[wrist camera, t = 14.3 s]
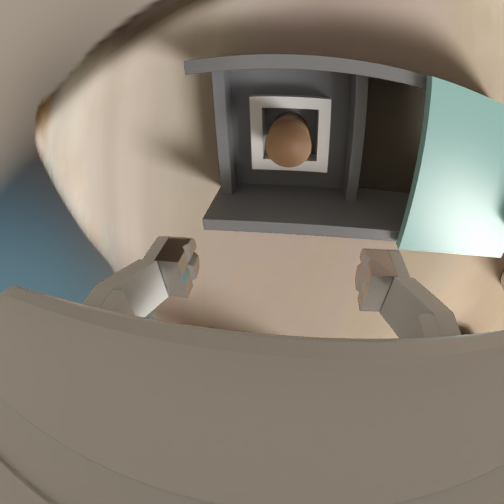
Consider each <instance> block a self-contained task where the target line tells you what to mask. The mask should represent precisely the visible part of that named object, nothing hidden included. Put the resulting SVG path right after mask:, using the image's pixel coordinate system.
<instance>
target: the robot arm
mask: <svg viewBox="0 0 504 504" xmlns="http://www.w3.org/2000/svg"><path fill="white" fill-rule="evenodd" d="M195 249H196V242H195V240H194V239H193V238H185V237H172V236H171V237H170V236H159V237H157V239H156V240H155V242H154V243H153V244H152V246H151V247H150V249H149V250H148V252H147V253H146V255H145V256H144V258H143V259H142V260H140V259H139V260H137V261H136V262H134V263H132V264H130V265H129V266H127V267H125V268H123V269H122V270H120V271H118V272H117V273H115V274H113V275H111V276H110V277H108V278H106V279H105V280H103V281H101V282H100V283H98V284H96V285H95V286H94V287H93V289H92V290H91V292H90V293H89V295H88V296H87V298H86V299H85V301H84V302H83V304H79V303H75V302H71V301H67V300H64V299H60V298H56V297H53V296H49V295H45V294H42V293H39V292H35V291H32V290H28V289H25V288H22V287H19V286H13V287H10V288H9V289H7V290H5V291H4V292H2V293H1V294H0V504H504V330H502V331H495V332H487V333H478V334H468V335H461V332H460V330H459V327H458V324H457V321H456V318H455V316H454V313H453V312H452V311H451V310H450V309H449V308H448V307H447V306H445V305H444V304H443V303H442V302H441V301H440V300H439V299H438V298H436V297H435V296H434V295H433V294H432V293H431V292H430V291H428V290H427V289H426V288H425V287H424V286H423V285H421V284H420V283H419V282H418V281H417V280H416V279H414V278H410V276H409V273H408V270H407V268H406V266H405V263H404V261H403V258H402V256H401V253H400V251H398V250H379V249H362V251H361V254H360V260H361V263H360V264H359V265H358V266H357V270H356V276H355V285H356V290H357V291H358V292H359V295H358V303H359V310H360V311H375V312H380V314H381V315H382V316H383V318H384V319H385V320H386V321H387V323H388V324H389V325H390V327H391V328H392V329H393V330H394V332H395V333H396V334H397V336H398V337H399V338H396V339H350V338H319V337H300V336H285V335H273V334H261V333H251V332H241V331H232V330H223V329H215V328H207V327H200V326H193V325H186V324H179V323H173V322H167V321H161V320H155V319H149V318H144V317H146V316H147V315H148V314H149V313H150V312H151V311H153V310H154V309H155V308H156V307H157V306H158V305H160V304H161V303H162V302H163V301H164V300H166V299H167V298H168V297H169V296H176V297H186V298H188V296H189V294H190V292H191V289H192V287H193V284H192V281H193V280H194V279H196V277H197V275H198V271H199V257H198V255H197V254H196V253H195V252H194V251H195Z"/></svg>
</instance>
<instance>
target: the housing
mask: <svg viewBox="0 0 504 504" xmlns="http://www.w3.org/2000/svg"><path fill="white" fill-rule="evenodd" d="M184 69H185V75H187V74H196V73H207V72H212V86H213V100H214V113H215V125H216V137H217V149H218V160H219V171H220V181H221V188H220V189H219V191H218V193H217V195H216V196H215V198H214V200H213V201H212V203H211V205H210V207H209V209H208V210H207V212H206V214H205V216H204V217H203V219H202V220H203V226H204V230H224V231H244V232H263V233H281V234H298V235H314V236H329V237H344V238H358V239H371V240H384V241H396V242H397V238H398V235H399V232H400V228H401V225H402V221H403V218H404V214H405V210H406V206H407V202H408V198H409V194H410V193H403V192H396V191H388V190H379V189H370V188H361V187H358V184H359V177H360V169H361V162H362V153H363V145H364V135H365V124H366V112H367V97H368V77H372V78H377V79H383V80H388V81H393V82H397V83H402V84H406V85H410V86H414V87H418V88H422V89H425V90H426V83H427V75H423V74H420V73H416V72H412V71H408V70H404V69H400V68H396V67H391V66H387V65H382V64H377V63H371V62H365V61H359V60H352V59H345V58H336V57H327V56H314V55H296V54H253V55H235V56H223V57H213V58H204V59H197V60H190V61H184ZM286 112H293V113H296V114H299V115H300V116H302V117H303V118H304V119H305V121H306V122H307V125H308V129H309V134H310V140H311V153H310V155H309V157H308V159H307V160H306V161H305V162H304V163H302V164H301V165H299V166H296V167H290V168H288V167H282V166H279V165H277V164H275V163H274V162H273V161H272V160H271V159H270V158H269V157H268V155H267V153H266V150H265V141H266V137H267V135H268V133H269V130H270V128H271V126H272V124H273V121H274V120H275V118H276V117H277V116H279V115H280V114H282V113H286Z"/></svg>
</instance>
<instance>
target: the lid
mask: <svg viewBox="0 0 504 504" xmlns="http://www.w3.org/2000/svg"><path fill="white" fill-rule="evenodd" d="M396 244H397V247H398V249H400V250H413V251H426V252H438V253H450V254H462V255H474V256H485V257H497V258H501V257H502V255H503V253H504V105H503V104H501V103H499V102H497V101H495V100H493V99H490V98H488V97H486V96H484V95H482V94H479V93H477V92H475V91H472V90H470V89H467V88H465V87H462V86H459V85H457V84H454V83H451V82H448V81H445V80H442V79H439V78H436V77H433V76H428V75H427V83H426V96H425V107H424V116H423V124H422V131H421V138H420V144H419V150H418V156H417V161H416V166H415V171H414V176H413V181H412V185H411V190H410V194H409V198H408V202H407V206H406V210H405V214H404V218H403V221H402V225H401V228H400V232H399V235H398V238H397V242H396Z"/></svg>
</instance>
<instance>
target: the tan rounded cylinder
mask: <svg viewBox="0 0 504 504" xmlns="http://www.w3.org/2000/svg"><path fill="white" fill-rule="evenodd" d="M265 150H266V153H267V155H268V157H269V158H270V159H271V160H272V161H273V162H274V163H275V164H277V165H279V166H282V167H288V168H290V167H296V166H299V165H301V164H302V163H304V162H305V161H306V160H307V159H308V157H309V155H310V153H311V140H310V134H309V129H308V125H307V122H306V121H305V119H304V118H303V117H302V116H300V115H299V114H296V113H293V112H286V113H282V114H280V115H279V116H277V117H276V118H275V120H274V121H273V124H272V126H271V128H270V130H269V133H268V135H267V137H266V141H265Z"/></svg>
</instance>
